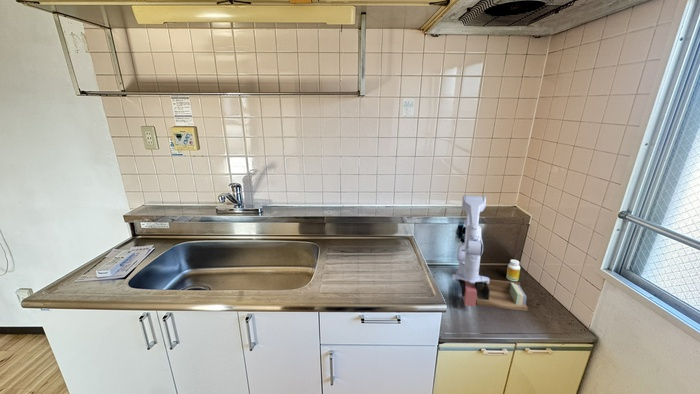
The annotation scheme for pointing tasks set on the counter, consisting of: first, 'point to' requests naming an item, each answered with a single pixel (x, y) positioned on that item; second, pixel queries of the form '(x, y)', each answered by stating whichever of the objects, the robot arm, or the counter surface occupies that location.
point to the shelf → (500, 296)
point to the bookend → (484, 292)
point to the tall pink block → (470, 294)
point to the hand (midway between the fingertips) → (468, 295)
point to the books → (517, 294)
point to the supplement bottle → (513, 270)
